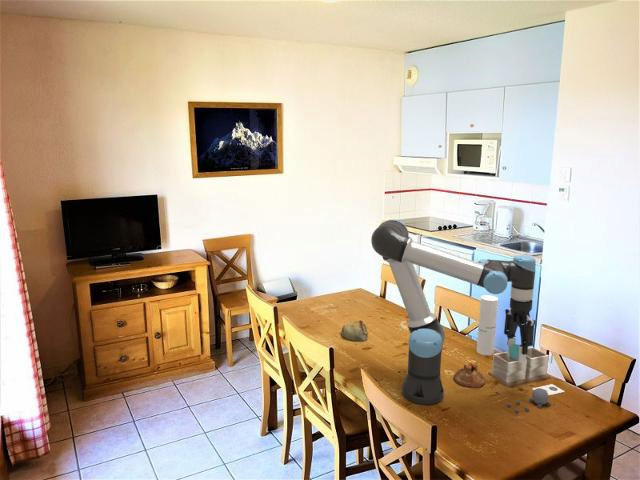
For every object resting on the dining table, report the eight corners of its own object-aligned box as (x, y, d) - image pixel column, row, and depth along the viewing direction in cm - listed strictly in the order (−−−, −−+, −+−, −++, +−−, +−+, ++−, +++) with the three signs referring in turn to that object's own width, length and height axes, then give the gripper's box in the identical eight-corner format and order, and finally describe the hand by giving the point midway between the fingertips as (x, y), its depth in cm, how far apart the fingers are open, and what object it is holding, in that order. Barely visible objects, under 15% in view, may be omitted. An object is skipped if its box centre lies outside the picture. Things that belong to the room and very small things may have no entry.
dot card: (543, 396, 185) (544, 396, 185) (531, 389, 190) (531, 388, 190) (564, 391, 188) (564, 391, 188) (552, 384, 194) (552, 383, 194)
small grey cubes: (516, 413, 173) (517, 411, 173) (506, 406, 178) (506, 403, 178) (550, 405, 179) (551, 403, 179) (539, 398, 184) (539, 395, 183)
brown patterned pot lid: (471, 372, 204) (472, 355, 202) (491, 385, 193) (492, 368, 191) (447, 376, 200) (448, 359, 198) (466, 391, 189) (467, 373, 187)
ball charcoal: (539, 408, 177) (540, 394, 176) (527, 400, 182) (529, 386, 181) (551, 405, 179) (553, 391, 178) (539, 398, 184) (541, 384, 183)
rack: (507, 386, 192) (509, 365, 190) (488, 374, 202) (490, 353, 200) (550, 377, 199) (552, 356, 197) (529, 365, 209) (531, 345, 207)
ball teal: (515, 363, 183) (516, 348, 182) (505, 356, 188) (506, 343, 187) (527, 360, 185) (529, 346, 183) (517, 354, 190) (518, 341, 189)
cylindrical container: (494, 356, 218) (499, 301, 213) (477, 354, 219) (481, 299, 214) (492, 349, 225) (497, 295, 219) (475, 347, 226) (480, 294, 221)
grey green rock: (373, 340, 234) (374, 323, 232) (349, 344, 229) (350, 327, 227) (359, 329, 247) (360, 313, 245) (336, 333, 242) (336, 317, 240)
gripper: (548, 305, 174) (542, 367, 179) (513, 289, 191) (508, 347, 196) (530, 307, 172) (524, 370, 177) (496, 291, 189) (492, 349, 194)
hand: (516, 358), depth 186 cm, fingers closed on ball teal, 5 cm apart
